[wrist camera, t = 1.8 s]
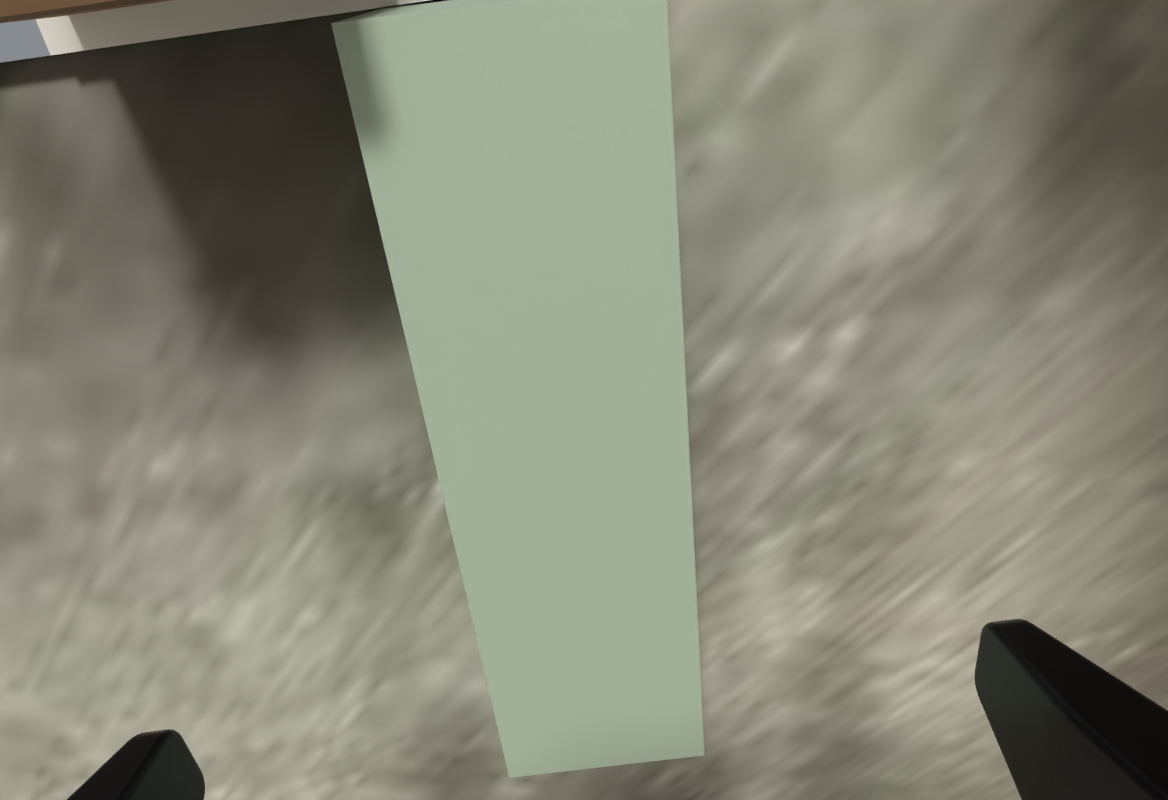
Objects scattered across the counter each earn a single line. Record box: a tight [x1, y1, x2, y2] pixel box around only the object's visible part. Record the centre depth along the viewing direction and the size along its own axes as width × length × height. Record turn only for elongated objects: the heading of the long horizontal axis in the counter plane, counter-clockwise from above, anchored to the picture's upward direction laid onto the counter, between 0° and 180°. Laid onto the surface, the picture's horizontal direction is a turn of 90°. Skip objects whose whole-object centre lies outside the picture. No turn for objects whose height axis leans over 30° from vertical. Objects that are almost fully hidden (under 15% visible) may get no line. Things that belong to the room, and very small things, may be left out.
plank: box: [331, 0, 705, 778], centre depth 15 cm, size 4×14×4 cm, turn 6°
